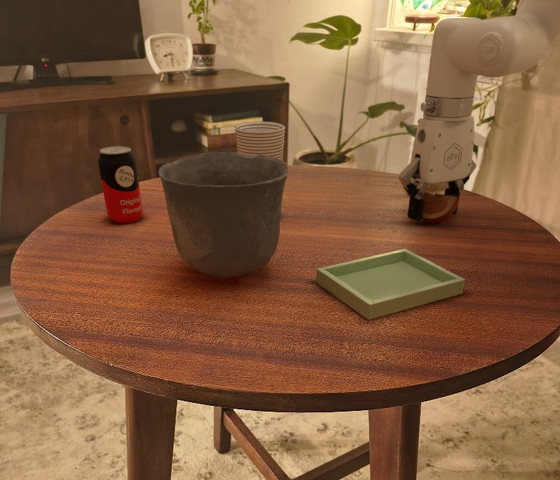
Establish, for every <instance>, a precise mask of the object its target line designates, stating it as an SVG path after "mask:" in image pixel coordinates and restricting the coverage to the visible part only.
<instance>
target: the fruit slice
mask: <svg viewBox="0 0 560 480" xmlns="http://www.w3.org/2000/svg"><path fill="white" fill-rule="evenodd" d="M422 198H423V199H424V200H425V202H424V209H423V216H422V221H424V222H427V223H431V224H434V223H441V222H443V221H445V220H447V219H448V218H450V217H451V216H452V213H453V212H454V211H455V209H456V208H457V205H458V206H459V202H460V199H459V200H458V198H457V197H455V196H450V195H443V194H437V193H436V194H435V195H433V194H430V193H427V192H424V194H423V196H422ZM457 209H458V208H457Z"/></svg>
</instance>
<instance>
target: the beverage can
mask: <svg viewBox="0 0 560 480" xmlns="http://www.w3.org/2000/svg"><path fill="white" fill-rule="evenodd" d="M131 150H132V149H131V148H130V147H128V146H122V145H117V146H114V145H113V146H107V147H103V148H101V149H99V156H98V160H97V164H98V169H99V176H100V177H99V178H100V181H101V188H102V193H103V197H104V198H103V200H104V204H105V210H106V215H107V217H108V218H109V219H110V220H112V221H113V222H114V223H117V224H131V223H135V222H137V221H139V220H140V218H141V217H142V216H143V214H144V209H143V202H142V194H141V193H142V192H141V187H140V180H139V174H138V166H137V160H136V157H135V156H134V154H133V153H132V151H131Z"/></svg>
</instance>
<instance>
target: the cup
mask: <svg viewBox="0 0 560 480" xmlns="http://www.w3.org/2000/svg"><path fill="white" fill-rule="evenodd" d="M234 131H235V132H234V134H235V140H236V152H238V153H240V154H241V155H246V156H256V155H259V154H261V155H267V156H270V157H275V158H278V159H280V160H282V161H284V160H283V159H284V148H285V147H284V146H285V133H286V126H285V125H284V124H282V123H280V122H275V121H263V120H262V121H248V122H247V121H246V122H245V121H244V122H241V123H238V124H236V125H234Z"/></svg>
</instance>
